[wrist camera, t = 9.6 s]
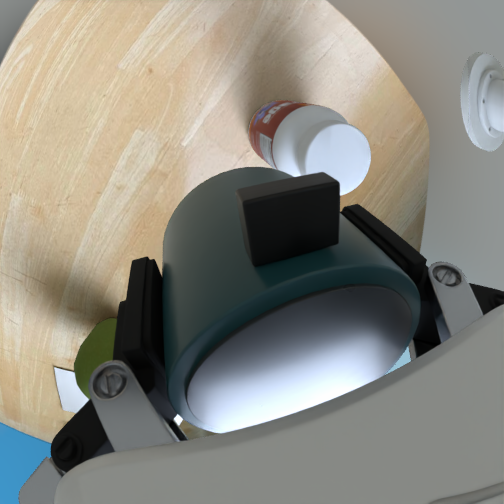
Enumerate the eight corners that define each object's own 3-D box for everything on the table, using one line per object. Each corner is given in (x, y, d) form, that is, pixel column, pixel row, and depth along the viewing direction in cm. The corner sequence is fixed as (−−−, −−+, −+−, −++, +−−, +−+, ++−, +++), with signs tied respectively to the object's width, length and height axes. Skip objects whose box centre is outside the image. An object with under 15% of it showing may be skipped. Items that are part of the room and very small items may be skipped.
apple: (154, 344, 35) (158, 421, 26) (97, 348, 33) (89, 421, 24) (140, 295, 30) (137, 381, 21) (75, 301, 28) (55, 381, 19)
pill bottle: (301, 93, 23) (375, 102, 14) (314, 152, 27) (383, 191, 18) (238, 109, 23) (282, 123, 14) (256, 170, 26) (303, 220, 17)
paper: (63, 411, 40) (63, 416, 39) (49, 365, 33) (48, 370, 32) (180, 426, 50) (181, 431, 49) (199, 387, 42) (200, 392, 42)
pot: (321, 121, 9) (462, 176, 4) (323, 305, 14) (383, 402, 9) (129, 159, 8) (70, 270, 3) (196, 342, 13) (220, 459, 8)
